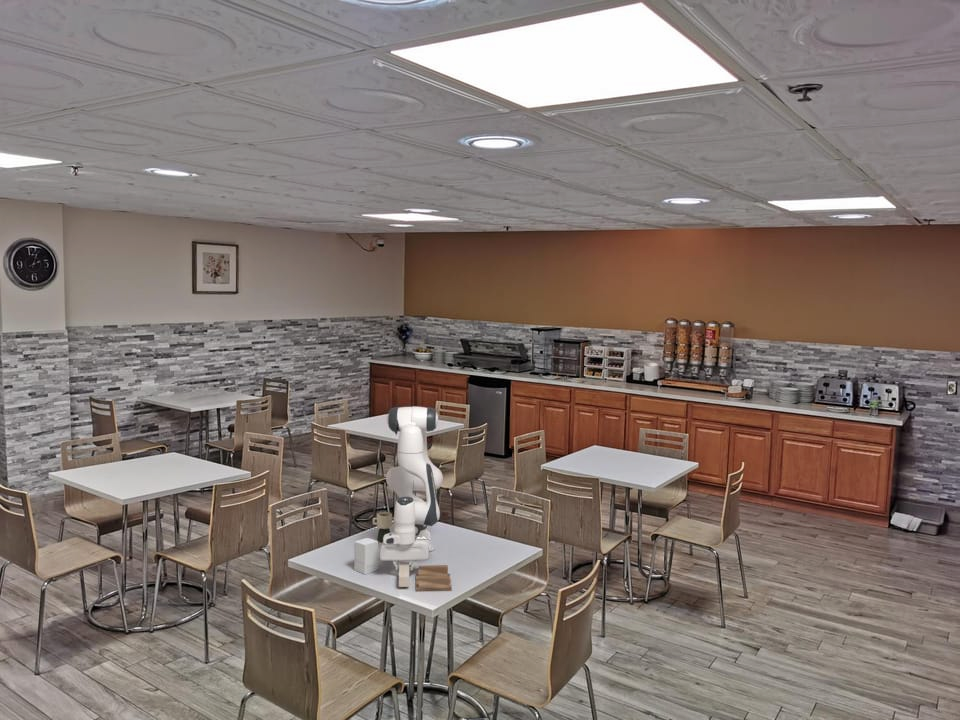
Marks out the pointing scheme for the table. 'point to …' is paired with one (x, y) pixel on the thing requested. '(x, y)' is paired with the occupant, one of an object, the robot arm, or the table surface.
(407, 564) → the beige rectangular bar
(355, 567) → the supplement box
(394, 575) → the table surface
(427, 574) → the ridged wooden base
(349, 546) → the table surface
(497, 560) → the table surface
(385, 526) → the character mug
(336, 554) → the table surface
